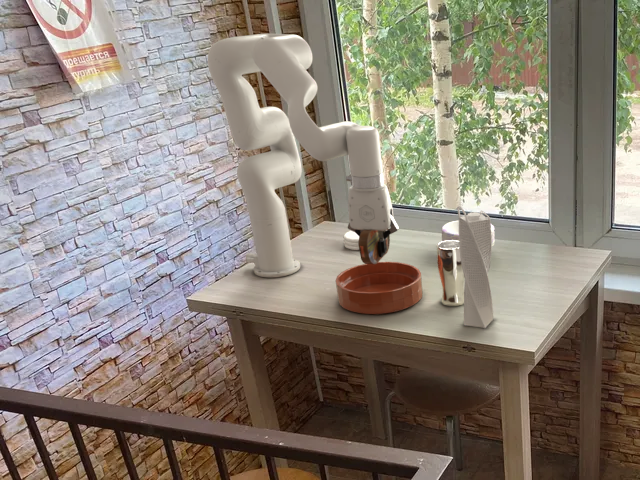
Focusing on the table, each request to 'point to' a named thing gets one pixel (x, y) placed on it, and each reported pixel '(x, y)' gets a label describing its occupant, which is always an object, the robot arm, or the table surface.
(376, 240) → the tin
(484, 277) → the skyscraper
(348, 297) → the bowl
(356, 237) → the coaster
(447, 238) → the paper bowls
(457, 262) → the chrome tumbler
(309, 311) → the table surface
